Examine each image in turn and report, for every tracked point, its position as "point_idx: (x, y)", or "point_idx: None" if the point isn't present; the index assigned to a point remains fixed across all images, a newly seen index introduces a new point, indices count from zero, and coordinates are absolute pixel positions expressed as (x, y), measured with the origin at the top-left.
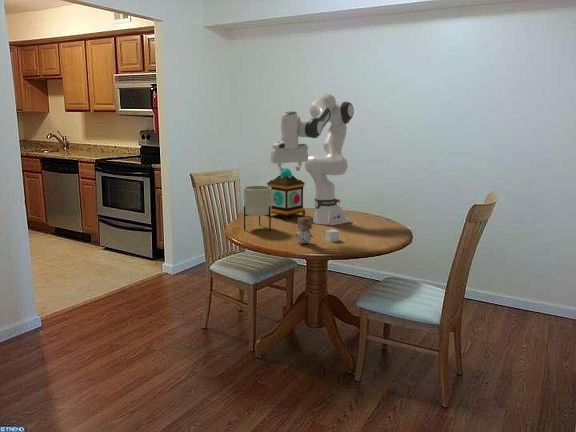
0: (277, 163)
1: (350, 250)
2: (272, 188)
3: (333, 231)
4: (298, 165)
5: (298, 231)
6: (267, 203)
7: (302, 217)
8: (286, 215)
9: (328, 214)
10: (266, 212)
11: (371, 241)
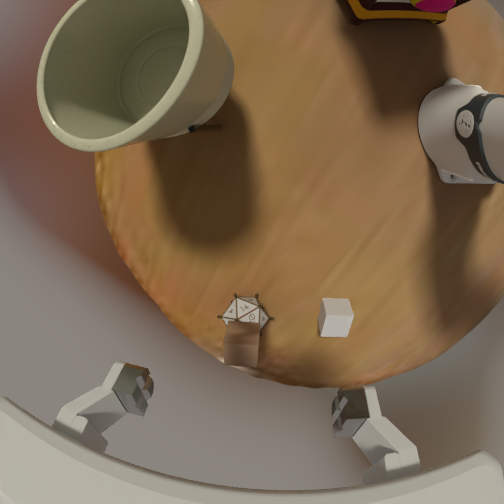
0: (56, 422)
1: (308, 372)
2: None
3: (333, 333)
4: (376, 440)
5: (229, 318)
6: (170, 134)
7: (239, 346)
8: (356, 19)
9: (459, 175)
10: (180, 134)
11: (391, 346)
